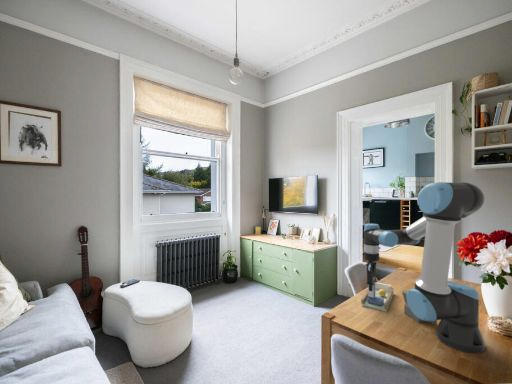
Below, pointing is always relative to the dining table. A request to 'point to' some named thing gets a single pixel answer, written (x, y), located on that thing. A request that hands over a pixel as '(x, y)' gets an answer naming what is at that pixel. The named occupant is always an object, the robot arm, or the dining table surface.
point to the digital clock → (409, 312)
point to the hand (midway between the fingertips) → (371, 295)
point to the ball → (382, 292)
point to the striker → (375, 298)
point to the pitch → (386, 298)
